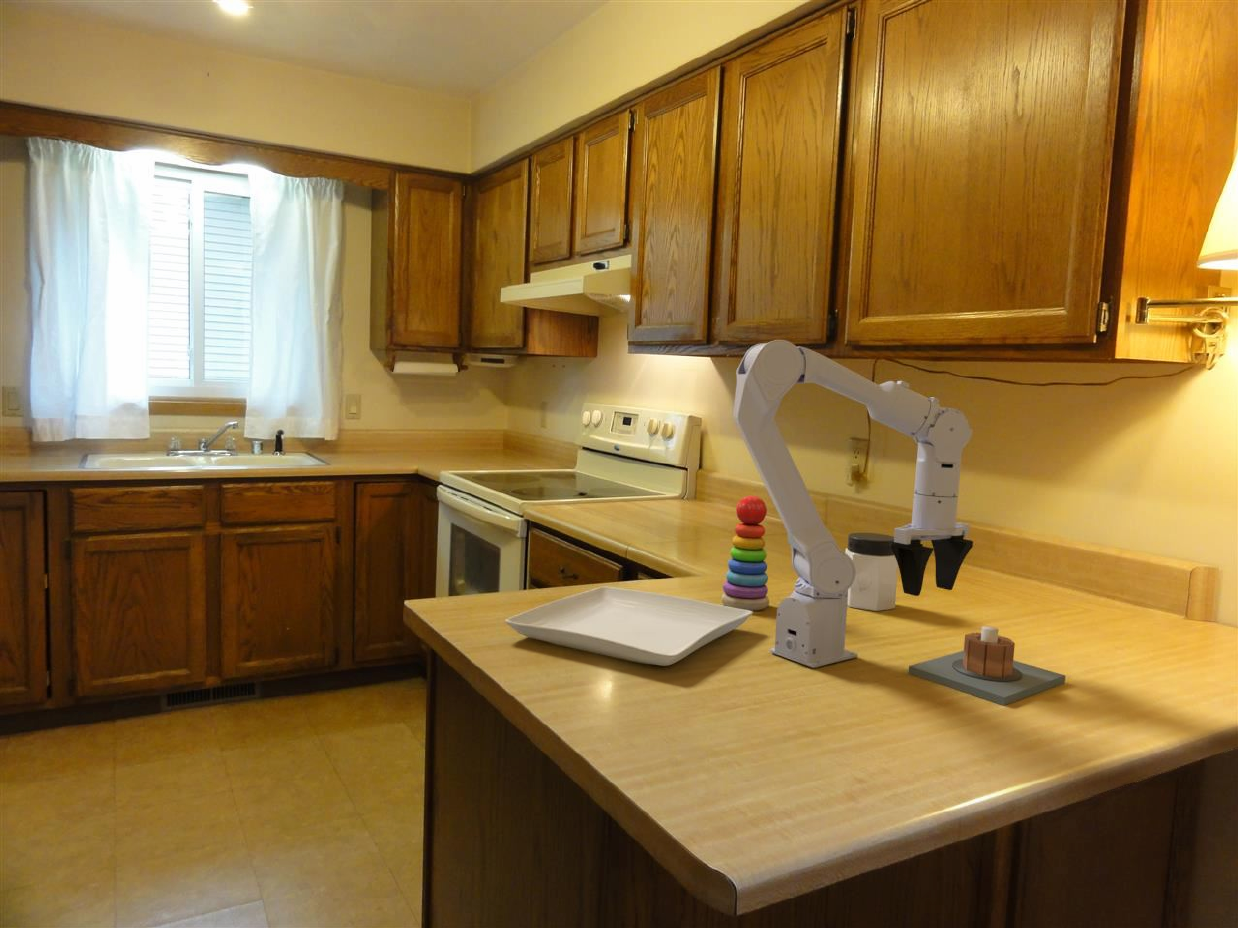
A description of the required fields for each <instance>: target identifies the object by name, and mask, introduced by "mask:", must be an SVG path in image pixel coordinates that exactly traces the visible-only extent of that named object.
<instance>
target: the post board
mask: <svg viewBox="0 0 1238 928" xmlns="http://www.w3.org/2000/svg"><path fill="white" fill-rule="evenodd" d="M980 633H981V641H984V642H988V643H998V635H999V628H997V627H993V626H982V627H981V632H980ZM963 654H964V650H960V651H958V652H954V653H950V654H946V655H943V656H939V657H935V658H932V659H929V660H924V661H922V662H918V663H914V664H911V665H909V666H908V674H910V675H912V676H915V677H918V678H921V679H923V680H928V681H930V682H933V683H936V684H939V685H942V686H945V687H948V688H950V689H954V690H956V691H960V692H963V693H965V694H969V695H971V696H975V697H977V698H981V699H983V700H986V701H989V702H992V703H994V704H998V705H1002V706H1006V705H1009V704H1011V703H1014V702H1017V701H1020V700H1022V699H1024V698H1028V697H1030V696H1032V695H1035V694H1039V693H1041V692H1044V691H1046V690H1049V689H1052V688H1055V687H1057V686H1061V685H1062V684H1065V683H1066V674H1065V675H1064V674H1062V673H1059V672H1055V671H1052V670H1048V669H1045V668H1041V667H1037V666H1036V665H1035V666H1034V665H1031V664H1027V663H1025V662H1022V661H1021V662H1020V661H1018V660H1015V659H1013V670H1012V674H1011V675H1008V676H1005V677H995V676H985V675H980V674H977V673H974V672H971V671H968V670H966V668H965V667H964V666H963Z"/></svg>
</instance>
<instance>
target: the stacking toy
mask: <svg viewBox="0 0 1238 928" xmlns="http://www.w3.org/2000/svg"><path fill="white" fill-rule="evenodd" d="M767 509H768V508H767V505H766V503H765V501H764V500H763V499H762V498H761V497H759V496H756V495H746V496H744V497H742V498H741V499H740V500H739V501H738V502H737V504H736V509H735V510H736V511H735V513H736V516H737V518H738V519H739V521H740V522H739V523H738V524H736V525H735V526H734V527H735V528H734V532H735V534H736V535H734V536H733V537H732V539H731V542H732V545H733V547H732V548H731V549H730V556H731V557H732V558H730V559H729V560H728V569H729V570H727V572H726V574H725V578H726V580H727V581H725V582H724V583H723V585H722V591H723V592H724V593H722V594H721V603H722V604H723V606H728V607H733V608H738V609H744V610H749V611H752V612H754V611H755V612H756V611H761V610H764V609H766V608H767V607H769V604H770V599H769V597H768V595H767V594H768V592H769V588H768V586H767V582H768V580H769V576H768V574H767V573H766V572H767V570H768V564H767V563H766V561H765V560H766V559H767V551H766V550H765V549H764V548H765V546H766V540H765V539H764V538H763V536H765V534H766V528H765V526H763V525H762V524H761V523H762V522H763V521H764V520H765V518H766V517H767V513H768V512H767V511H768V510H767Z"/></svg>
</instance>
